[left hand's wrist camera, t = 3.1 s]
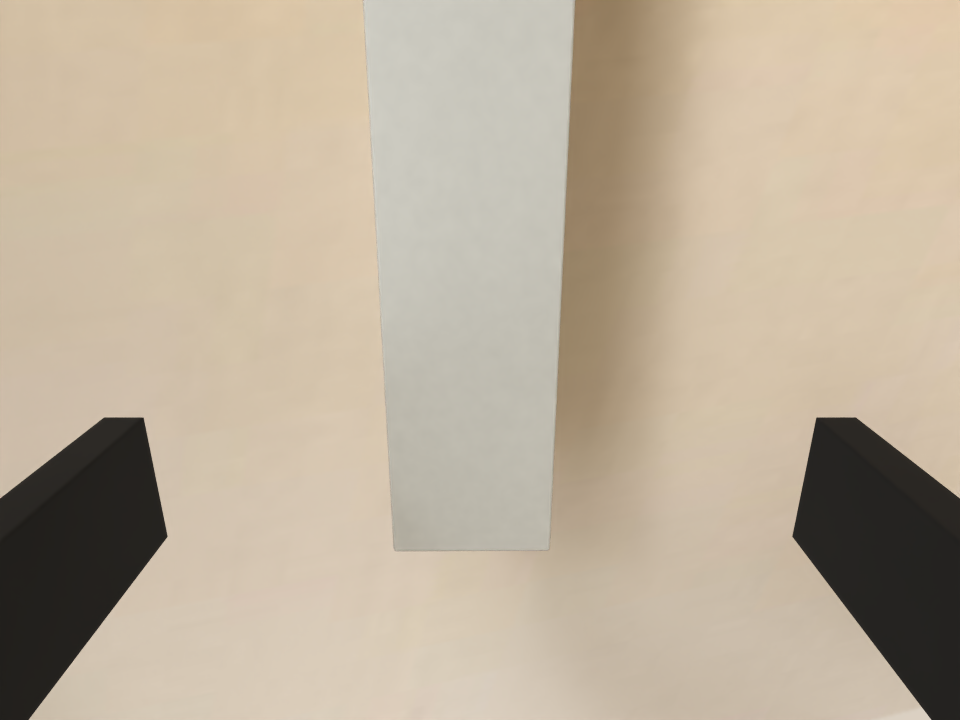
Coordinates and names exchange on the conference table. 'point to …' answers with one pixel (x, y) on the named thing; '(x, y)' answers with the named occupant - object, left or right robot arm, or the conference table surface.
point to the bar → (470, 261)
